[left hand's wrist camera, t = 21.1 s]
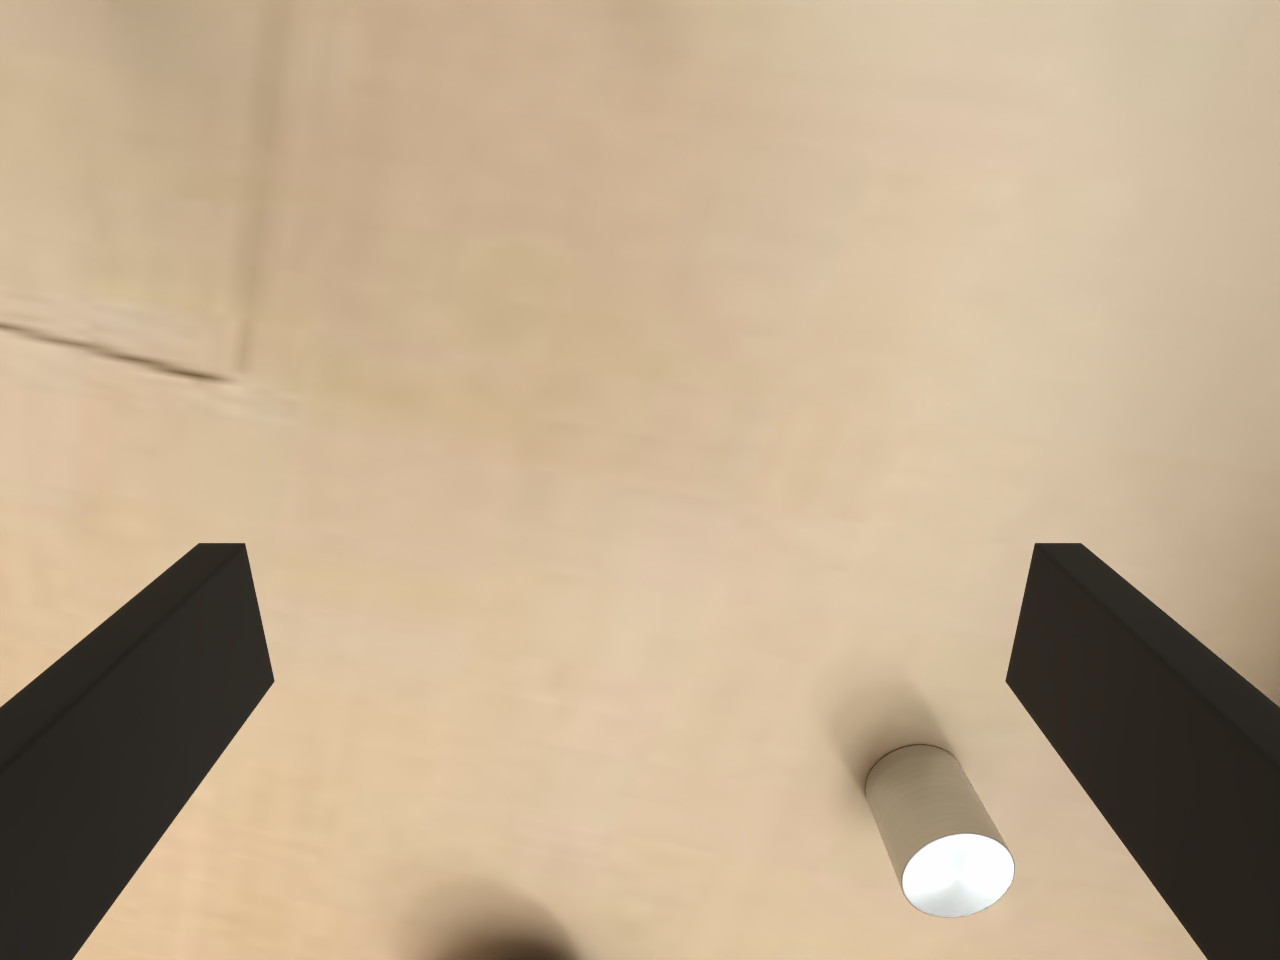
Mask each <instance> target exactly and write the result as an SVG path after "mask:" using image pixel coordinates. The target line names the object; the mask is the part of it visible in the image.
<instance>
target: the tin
mask: <svg viewBox="0 0 1280 960" xmlns="http://www.w3.org/2000/svg"><path fill="white" fill-rule="evenodd" d="M865 793H866V798H867V801H868V803H869V806H870V808H871V811H872V814H873V816H874V819H875V821H876V824H877V827H878V829H879V832H880V834H881V837H882V839H883V842H884V845H885V847H886V850H887V852H888V855H889V858H890V860H891V863H892V865H893V868H894V871H895V873H896V876H897V878H898V881H899V883H900V886H901V889H902V891H903V894H904V896H905V897H906V899H907V900H908V901H909V903H910V904H911V905H913V906H914V907H915V908H916V909H918V910H920V911H922V912H924V913H926V914H929V915H932V916H937V917H946V918H953V917H962V916H967V915H970V914H974V913H977V912H979V911H982V910H984V909H986V908H988V907H989V906H991V905H992V904H994V903H995V902H996V901H998V900H999V899H1000V898H1001V897H1002V896H1003V895H1004V894H1005V892H1006V891H1007V890H1008V888H1009V887H1010V885H1011V883H1012V880H1013V877H1014V871H1015V866H1014V860H1013V857H1012V855H1011V853H1010V851H1009V849H1008V847H1007V846H1006V844H1005V842H1004V840H1003V839H1002V837H1001V835H1000V833H999V832H998V830H997V828H996V826H995V825H994V823H993V821H992V819H991V818H990V816H989V814H988V812H987V811H986V809H985V807H984V805H983V804H982V802H981V800H980V798H979V797H978V795H977V793H976V792H975V790H974V788H973V786H972V785H971V783H970V781H969V779H968V778H967V776H966V774H965V772H964V771H963V769H962V767H961V765H960V764H959V762H958V761H957V759H956V758H955V757H954V756H952V755H951V754H950V753H948V752H947V751H945V750H943V749H940V748H937V747H934V746H928V745H914V746H908V747H904V748H900V749H898V750H895V751H893V752H891V753H889V754H888V755H886V756H885V757H883V758H882V759H881V760H880V761H878V762H877V763H876V765H875V766H874V767H873V768H872V770H871V771H870V773H869V775H868V777H867V781H866V786H865Z"/></svg>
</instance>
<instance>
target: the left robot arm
mask: <svg viewBox="0 0 1280 960" xmlns="http://www.w3.org/2000/svg"><path fill="white" fill-rule="evenodd" d="M273 683H274V677H273V672H272V667H271V663H270V658H269V653H268V649H267V644H266V639H265V635H264V630H263V625H262V621H261V616H260V611H259V607H258V602H257V597H256V592H255V588H254V583H253V578H252V574H251V569H250V564H249V560H248V555H247V550H246V546H245V543H199V544H197V545H196V546H195V547H194V548H193V549H191V550H190V551H189V552H188V553H187V554H185V555H184V556H183V557H182V558H181V559H179V560H178V561H177V562H176V563H175V564H173V565H172V566H171V567H170V568H168V569H167V570H166V571H165V572H164V573H162V574H161V575H160V576H159V577H158V578H156V579H155V580H154V581H153V582H152V583H150V584H149V585H148V586H147V587H146V588H144V589H143V590H142V591H141V592H139V593H138V594H137V595H136V596H135V597H133V598H132V599H131V600H130V601H129V602H127V603H126V604H125V605H124V606H123V607H121V608H120V609H119V610H118V611H117V612H115V613H114V614H113V615H112V616H110V617H109V618H108V619H107V620H106V621H104V622H103V623H102V624H101V625H100V626H98V627H97V628H96V629H95V630H94V631H92V632H91V633H90V634H89V635H88V636H86V637H85V638H84V639H83V640H81V641H80V642H79V643H78V644H77V645H75V646H74V647H73V648H72V649H71V650H69V651H68V652H67V653H66V654H65V655H63V656H62V657H61V658H60V659H59V660H57V661H56V662H55V663H54V664H52V665H51V666H50V667H49V668H48V669H46V670H45V671H44V672H43V673H42V674H40V675H39V676H38V677H37V678H36V679H34V680H33V681H32V682H31V683H30V684H28V685H27V686H26V687H25V688H23V689H22V690H21V691H20V692H19V693H17V694H16V695H15V696H14V697H13V698H11V699H10V700H9V701H8V702H7V703H5V704H4V705H3V706H2V707H1V708H0V960H72V959H73V958H74V956H75V955H76V954H77V952H78V951H79V950H80V948H81V947H82V945H83V944H84V943H85V941H86V940H87V939H88V937H89V936H90V934H91V933H92V932H93V930H94V929H95V928H96V926H97V925H98V923H99V922H100V921H101V919H102V918H103V917H104V915H105V914H106V912H107V911H108V910H109V908H110V907H111V906H112V904H113V903H114V901H115V900H116V899H117V897H118V896H119V895H120V893H121V892H122V890H123V889H124V888H125V886H126V885H127V884H128V882H129V881H130V879H131V878H132V877H133V875H134V874H135V873H136V871H137V870H138V868H139V867H140V866H141V864H142V863H143V862H144V860H145V859H146V857H147V856H148V855H149V853H150V852H151V851H152V849H153V848H154V846H155V845H156V844H157V842H158V841H159V840H160V838H161V837H162V835H163V834H164V833H165V831H166V830H167V829H168V827H169V826H170V824H171V823H172V822H173V820H174V819H175V818H176V816H177V815H178V813H179V812H180V811H181V809H182V808H183V806H184V805H185V804H186V802H187V801H188V800H189V798H190V797H191V795H192V794H193V793H194V791H195V790H196V789H197V787H198V786H199V784H200V783H201V782H202V780H203V779H204V778H205V776H206V775H207V773H208V772H209V771H210V769H211V768H212V767H213V765H214V764H215V762H216V761H217V760H218V758H219V757H220V756H221V754H222V753H223V751H224V750H225V749H226V747H227V746H228V745H229V743H230V742H231V740H232V739H233V738H234V736H235V735H236V734H237V732H238V731H239V729H240V728H241V727H242V725H243V724H244V723H245V721H246V720H247V718H248V717H249V716H250V714H251V713H252V712H253V710H254V709H255V707H256V706H257V705H258V703H259V702H260V701H261V699H262V698H263V696H264V695H265V694H266V692H267V691H268V690H269V688H270V687H271V685H272V684H273ZM1006 683H1007V684H1008V685H1009V687H1010V688H1011V690H1012V691H1013V692H1014V694H1015V695H1016V696H1017V698H1018V699H1019V701H1020V702H1021V703H1022V705H1023V706H1024V707H1025V709H1026V710H1027V712H1028V713H1029V714H1030V716H1031V717H1032V718H1033V720H1034V721H1035V723H1036V724H1037V725H1038V727H1039V728H1040V729H1041V731H1042V732H1043V734H1044V735H1045V736H1046V738H1047V739H1048V740H1049V742H1050V743H1051V745H1052V746H1053V747H1054V749H1055V750H1056V751H1057V753H1058V754H1059V756H1060V757H1061V758H1062V760H1063V761H1064V762H1065V764H1066V765H1067V767H1068V768H1069V769H1070V771H1071V772H1072V773H1073V775H1074V776H1075V778H1076V779H1077V780H1078V782H1079V783H1080V784H1081V786H1082V787H1083V789H1084V790H1085V791H1086V793H1087V794H1088V795H1089V797H1090V798H1091V800H1092V801H1093V802H1094V804H1095V805H1096V806H1097V808H1098V809H1099V811H1100V812H1101V813H1102V815H1103V816H1104V818H1105V819H1106V820H1107V822H1108V823H1109V824H1110V826H1111V827H1112V829H1113V830H1114V831H1115V833H1116V834H1117V835H1118V837H1119V838H1120V840H1121V841H1122V842H1123V844H1124V845H1125V846H1126V848H1127V849H1128V851H1129V852H1130V853H1131V855H1132V856H1133V857H1134V859H1135V860H1136V862H1137V863H1138V864H1139V866H1140V867H1141V868H1142V870H1143V871H1144V873H1145V874H1146V875H1147V877H1148V878H1149V879H1150V881H1151V882H1152V884H1153V885H1154V886H1155V888H1156V889H1157V890H1158V892H1159V893H1160V895H1161V896H1162V897H1163V899H1164V900H1165V901H1166V903H1167V904H1168V906H1169V907H1170V908H1171V910H1172V911H1173V912H1174V914H1175V915H1176V917H1177V918H1178V919H1179V921H1180V922H1181V923H1182V925H1183V926H1184V928H1185V929H1186V930H1187V932H1188V933H1189V934H1190V936H1191V937H1192V939H1193V940H1194V941H1195V943H1196V944H1197V945H1198V947H1199V948H1200V950H1201V951H1202V952H1203V954H1204V955H1205V956H1206V958H1207V959H1208V960H1280V708H1279V707H1278V706H1277V705H1276V704H1275V703H1273V702H1272V701H1271V700H1270V699H1269V698H1267V697H1266V696H1265V695H1264V694H1263V693H1261V692H1260V691H1259V690H1258V689H1257V688H1255V687H1254V686H1253V685H1252V684H1250V683H1249V682H1248V681H1247V680H1246V679H1244V678H1243V677H1242V676H1241V675H1240V674H1238V673H1237V672H1236V671H1235V670H1234V669H1232V668H1231V667H1230V666H1229V665H1228V664H1226V663H1225V662H1224V661H1223V660H1221V659H1220V658H1219V657H1218V656H1217V655H1215V654H1214V653H1213V652H1212V651H1211V650H1209V649H1208V648H1207V647H1206V646H1205V645H1203V644H1202V643H1201V642H1200V641H1199V640H1197V639H1196V638H1195V637H1194V636H1192V635H1191V634H1190V633H1189V632H1188V631H1186V630H1185V629H1184V628H1183V627H1182V626H1180V625H1179V624H1178V623H1177V622H1176V621H1174V620H1173V619H1172V618H1171V617H1170V616H1168V615H1167V614H1166V613H1165V612H1163V611H1162V610H1161V609H1160V608H1159V607H1157V606H1156V605H1155V604H1154V603H1153V602H1151V601H1150V600H1149V599H1148V598H1147V597H1145V596H1144V595H1143V594H1142V593H1141V592H1139V591H1138V590H1137V589H1136V588H1134V587H1133V586H1132V585H1131V584H1130V583H1128V582H1127V581H1126V580H1125V579H1124V578H1122V577H1121V576H1120V575H1119V574H1118V573H1116V572H1115V571H1114V570H1113V569H1112V568H1110V567H1109V566H1108V565H1107V564H1105V563H1104V562H1103V561H1102V560H1101V559H1099V558H1098V557H1097V556H1096V555H1095V554H1093V553H1092V552H1091V551H1090V550H1089V549H1087V548H1086V547H1085V546H1084V545H1083V544H1081V543H1035V546H1034V550H1033V555H1032V560H1031V564H1030V569H1029V574H1028V578H1027V583H1026V588H1025V592H1024V597H1023V602H1022V606H1021V611H1020V616H1019V621H1018V625H1017V630H1016V635H1015V639H1014V644H1013V649H1012V653H1011V658H1010V663H1009V667H1008V672H1007V677H1006Z"/></svg>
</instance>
